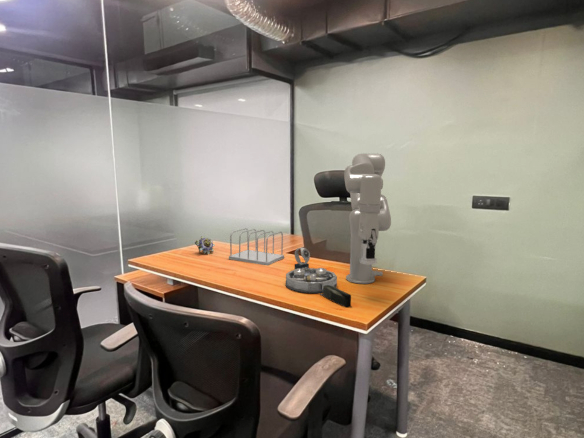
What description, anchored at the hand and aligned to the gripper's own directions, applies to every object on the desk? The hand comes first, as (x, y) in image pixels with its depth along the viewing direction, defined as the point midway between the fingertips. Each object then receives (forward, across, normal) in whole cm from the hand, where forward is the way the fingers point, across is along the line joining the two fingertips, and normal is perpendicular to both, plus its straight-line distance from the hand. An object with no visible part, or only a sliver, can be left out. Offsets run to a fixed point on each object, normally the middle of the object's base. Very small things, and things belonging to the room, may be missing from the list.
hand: (367, 256), depth 131 cm
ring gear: (+15, -15, -19) cm, 29 cm away
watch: (+17, -37, -20) cm, 46 cm away
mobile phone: (+16, +3, -13) cm, 21 cm away
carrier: (+16, -15, -19) cm, 29 cm away
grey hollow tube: (+2, 0, 0) cm, 2 cm away
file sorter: (+17, -62, -42) cm, 76 cm away
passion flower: (+17, -77, -72) cm, 107 cm away
